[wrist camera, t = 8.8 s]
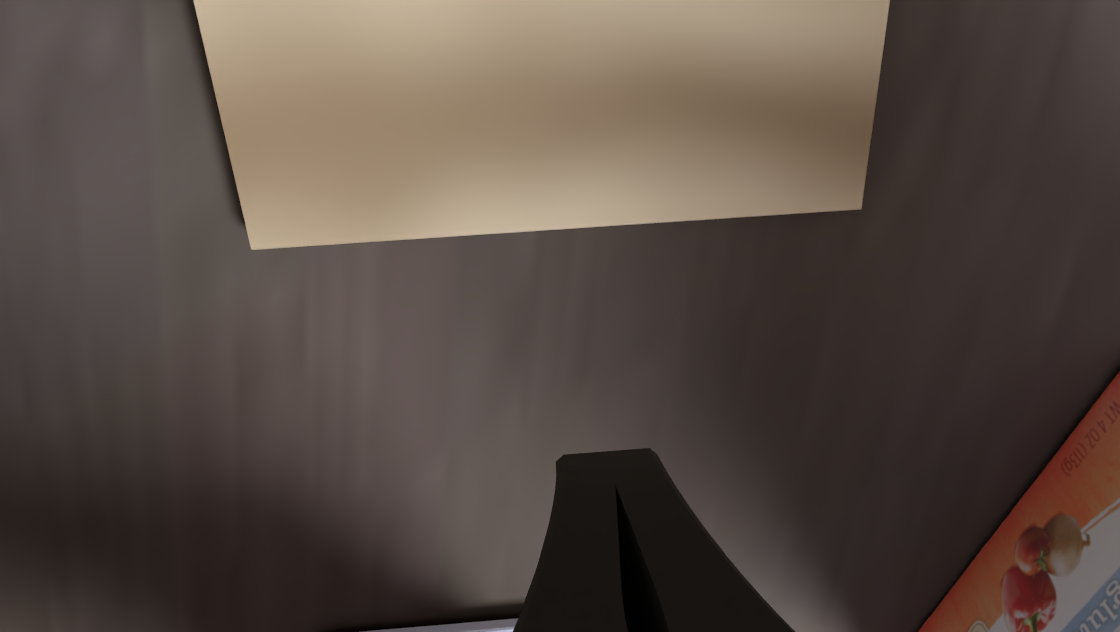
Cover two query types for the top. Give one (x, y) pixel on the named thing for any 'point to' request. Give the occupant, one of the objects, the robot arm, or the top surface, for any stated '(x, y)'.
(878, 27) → the board
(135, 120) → the top surface
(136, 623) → the top surface
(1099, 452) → the cracker box
